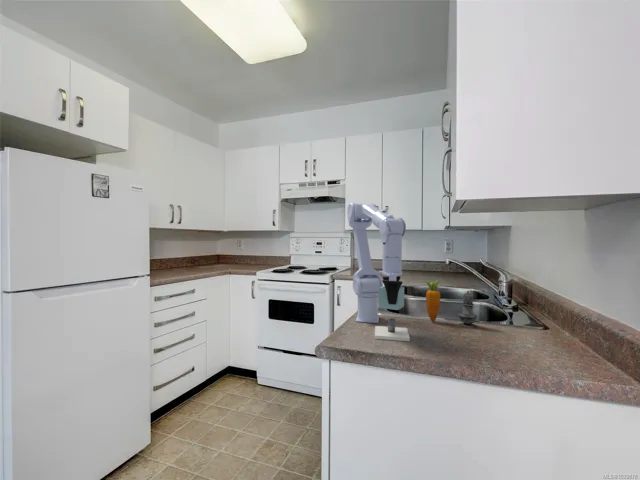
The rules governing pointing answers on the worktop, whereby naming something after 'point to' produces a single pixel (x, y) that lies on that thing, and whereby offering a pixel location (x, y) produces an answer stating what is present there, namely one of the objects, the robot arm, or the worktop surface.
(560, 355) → the worktop surface
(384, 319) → the worktop surface
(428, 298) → the carrot
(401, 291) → the sleeve
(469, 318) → the grey chess piece
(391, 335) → the post base
